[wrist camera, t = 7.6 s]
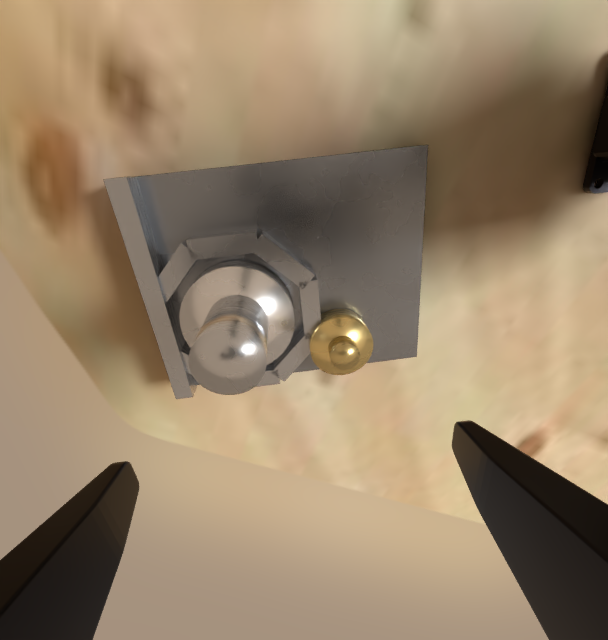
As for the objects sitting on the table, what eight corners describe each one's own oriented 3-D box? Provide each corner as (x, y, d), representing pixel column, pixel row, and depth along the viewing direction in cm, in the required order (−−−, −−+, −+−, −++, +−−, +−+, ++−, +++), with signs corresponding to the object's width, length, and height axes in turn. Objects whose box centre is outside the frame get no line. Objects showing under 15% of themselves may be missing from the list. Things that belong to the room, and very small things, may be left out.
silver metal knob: (286, 254, 17) (291, 287, 12) (298, 350, 20) (305, 410, 15) (174, 267, 17) (132, 306, 12) (200, 363, 20) (174, 428, 15)
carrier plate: (419, 146, 17) (453, 139, 13) (410, 348, 22) (434, 379, 18) (124, 178, 16) (87, 179, 13) (185, 377, 21) (169, 413, 18)
